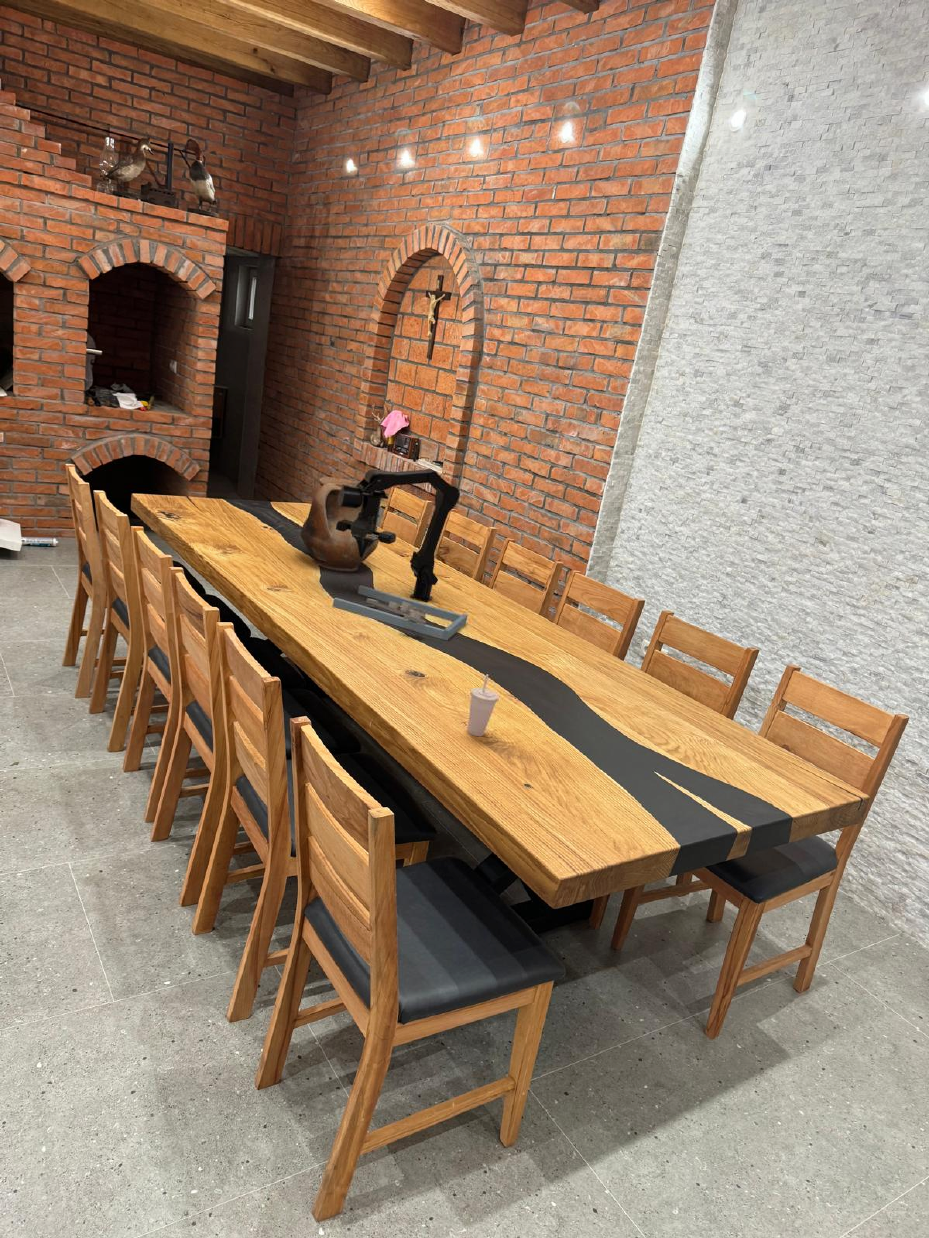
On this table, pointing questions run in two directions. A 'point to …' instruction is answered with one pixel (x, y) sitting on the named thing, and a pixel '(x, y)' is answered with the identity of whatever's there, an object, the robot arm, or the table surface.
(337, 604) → the track
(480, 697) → the smoothie
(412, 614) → the pulley system
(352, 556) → the jug
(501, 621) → the table surface
